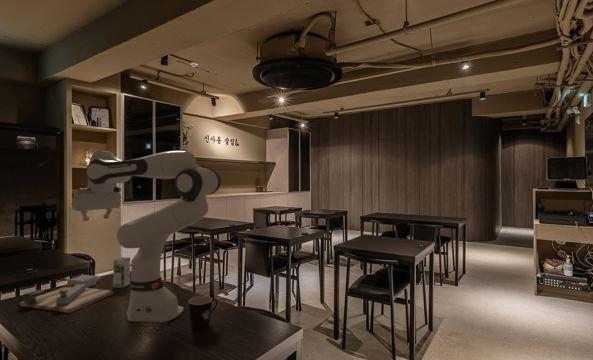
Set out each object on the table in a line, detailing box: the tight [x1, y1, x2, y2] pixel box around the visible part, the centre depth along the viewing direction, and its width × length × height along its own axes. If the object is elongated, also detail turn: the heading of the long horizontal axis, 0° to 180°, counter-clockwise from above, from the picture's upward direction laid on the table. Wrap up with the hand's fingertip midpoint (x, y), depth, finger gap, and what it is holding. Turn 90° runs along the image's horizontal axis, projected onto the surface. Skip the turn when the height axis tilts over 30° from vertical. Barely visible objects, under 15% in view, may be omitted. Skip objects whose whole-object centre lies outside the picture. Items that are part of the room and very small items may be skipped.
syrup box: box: [112, 256, 131, 289], centre depth 172 cm, size 6×6×14 cm
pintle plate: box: [19, 285, 114, 314], centre depth 152 cm, size 27×24×7 cm
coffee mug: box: [188, 295, 218, 332], centre depth 127 cm, size 12×9×10 cm
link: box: [56, 284, 86, 305], centre depth 150 cm, size 20×5×2 cm, turn 11°
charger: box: [66, 274, 102, 288], centre depth 173 cm, size 5×9×15 cm
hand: (96, 219), depth 145 cm, fingers open, 8 cm apart
